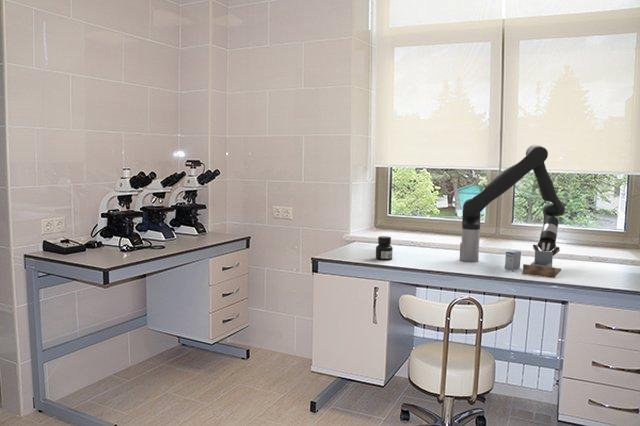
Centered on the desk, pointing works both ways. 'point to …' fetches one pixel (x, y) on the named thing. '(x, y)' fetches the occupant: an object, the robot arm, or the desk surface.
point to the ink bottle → (384, 248)
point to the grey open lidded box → (543, 259)
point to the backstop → (540, 270)
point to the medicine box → (512, 259)
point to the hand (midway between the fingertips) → (543, 262)
